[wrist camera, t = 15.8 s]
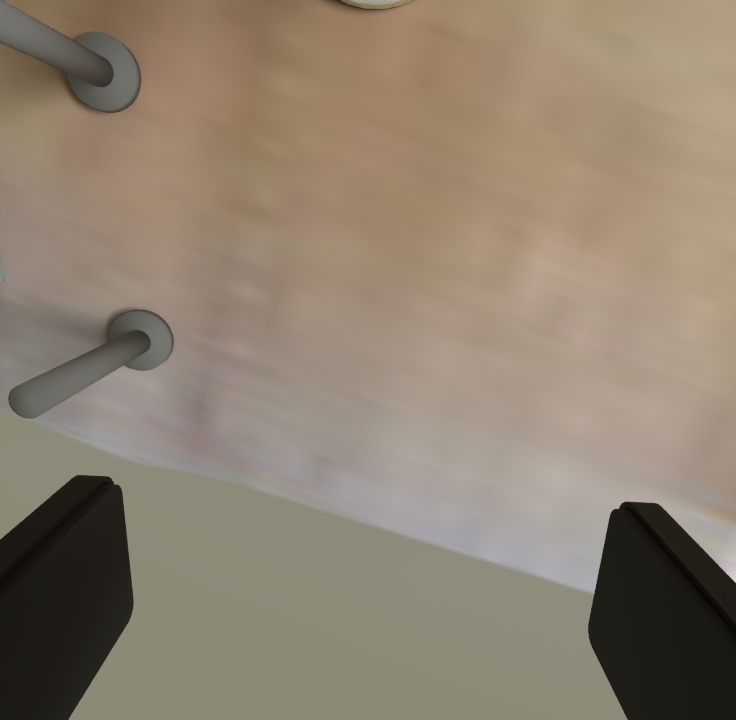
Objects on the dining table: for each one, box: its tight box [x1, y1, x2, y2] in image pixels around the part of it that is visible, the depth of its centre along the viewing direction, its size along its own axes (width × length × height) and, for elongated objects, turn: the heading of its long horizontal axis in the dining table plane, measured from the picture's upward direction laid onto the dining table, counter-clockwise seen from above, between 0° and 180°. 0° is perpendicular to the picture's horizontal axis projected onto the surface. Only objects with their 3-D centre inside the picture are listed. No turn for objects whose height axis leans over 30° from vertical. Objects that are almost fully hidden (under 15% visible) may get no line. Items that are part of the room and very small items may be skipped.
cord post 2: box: [8, 310, 173, 419], centre depth 35 cm, size 5×5×15 cm
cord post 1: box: [0, 0, 141, 113], centre depth 30 cm, size 5×5×15 cm
